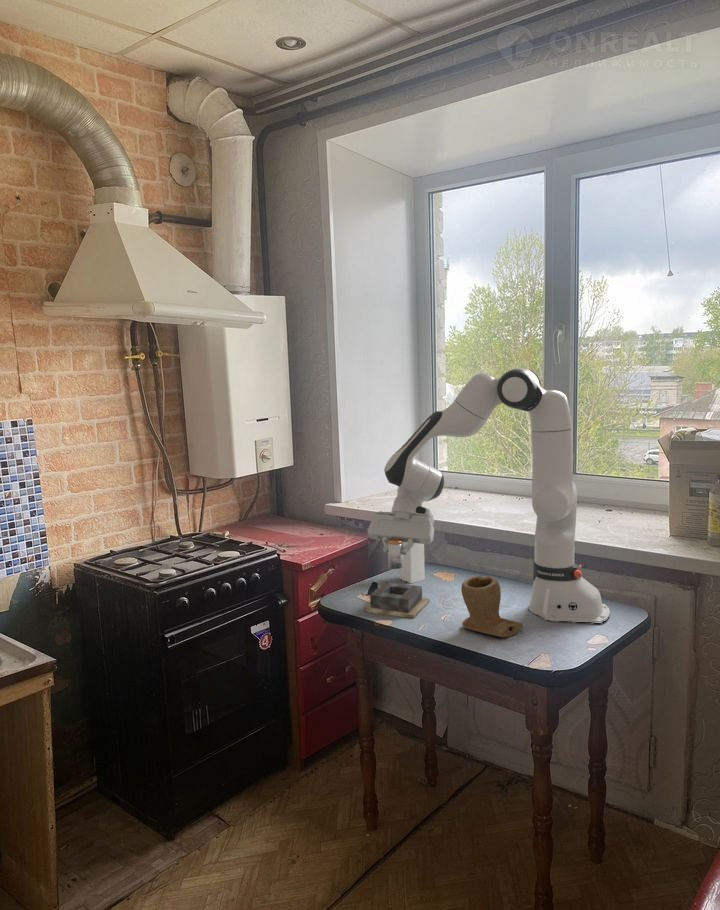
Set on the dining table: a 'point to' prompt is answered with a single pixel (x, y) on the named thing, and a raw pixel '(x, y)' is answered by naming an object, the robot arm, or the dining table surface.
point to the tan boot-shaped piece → (486, 607)
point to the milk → (413, 564)
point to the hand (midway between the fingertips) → (394, 552)
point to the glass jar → (395, 553)
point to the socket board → (397, 600)
